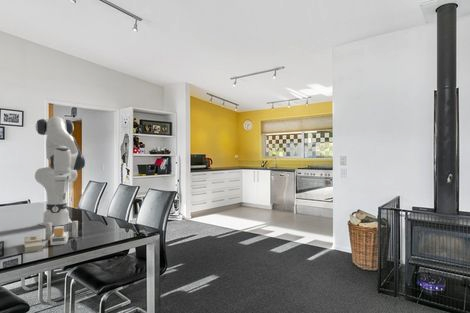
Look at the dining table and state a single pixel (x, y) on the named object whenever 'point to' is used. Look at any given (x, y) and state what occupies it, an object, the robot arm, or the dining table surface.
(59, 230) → the breaker toggle
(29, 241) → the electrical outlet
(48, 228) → the post
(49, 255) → the dining table surface
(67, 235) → the breaker block
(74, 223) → the post
